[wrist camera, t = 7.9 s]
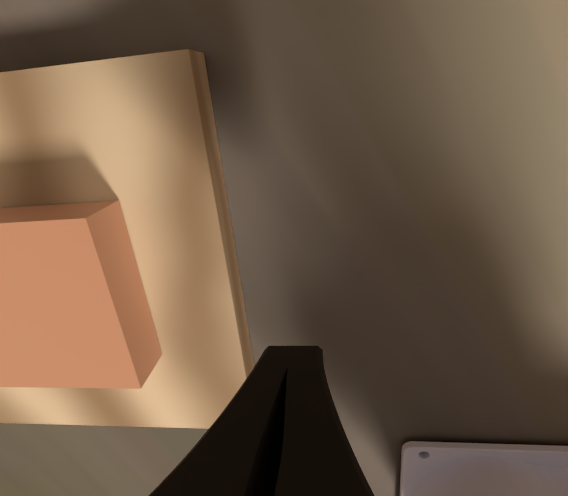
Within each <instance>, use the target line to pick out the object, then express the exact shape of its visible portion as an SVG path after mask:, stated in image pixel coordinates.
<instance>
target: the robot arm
mask: <svg viewBox="0 0 568 496" xmlns="http://www.w3.org/2000/svg"><path fill="white" fill-rule="evenodd" d="M149 496H374V494H373V492H372V490H371V488H370V486H369V484H368V482H367V480H366V478H365V476H364V474H363V472H362V470H361V468H360V466H359V464H358V461H357V459H356V457H355V455H354V453H353V450H352V448H351V446H350V443H349V441H348V439H347V436H346V434H345V432H344V429H343V427H342V424H341V422H340V419H339V416H338V413H337V411H336V408H335V405H334V402H333V399H332V396H331V393H330V390H329V387H328V383H327V379H326V375H325V371H324V365H323V350H322V349H321V348H320V347H319V346H268V347H267V348H266V349H265V351H264V352H263V354H262V355H261V357H260V359H259V360H258V362H257V363H256V365H255V367H254V368H253V370H252V371H251V373H250V374H249V376H248V377H247V379H246V380H245V381H244V383H243V384H242V386H241V387H240V389H239V390H238V391H237V393H236V394H235V395H234V397H233V398H232V400H231V401H230V402H229V404H228V405H227V406H226V408H225V409H224V410H223V412H222V413H221V414H220V416H219V417H218V418H217V419H216V421H215V422H214V423H213V424H212V426H211V427H210V428H209V429H208V430H207V432H206V433H205V434H204V435H203V437H202V438H201V439H200V440H199V442H198V443H197V444H196V445H195V446H194V448H193V449H192V450H191V451H190V452H189V453H188V454H187V455H186V457H185V458H184V459H183V460H182V461H181V462H180V463H179V464H178V466H177V467H176V468H175V469H174V470H173V471H172V472H171V473H170V474H169V475H168V476H167V477H166V478H165V479H164V480H163V482H162V483H161V484H160V485H159V486H158V487H157V488H156V489H155V490H154V491H153V492H152V493H151V494H150V495H149ZM400 496H568V446H555V445H521V444H488V443H455V442H422V441H409V442H406V443H405V444H404V445H403V446H402V453H401V476H400Z"/></svg>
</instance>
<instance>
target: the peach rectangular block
mask: <svg viewBox="0 0 568 496" xmlns="http://www.w3.org/2000/svg"><path fill="white" fill-rule="evenodd" d="M161 356H162V352H161V348H160V344H159V341H158V337H157V334H156V330H155V327H154V323H153V320H152V316H151V312H150V309H149V305H148V302H147V298H146V295H145V291H144V288H143V284H142V280H141V277H140V273H139V270H138V266H137V263H136V259H135V256H134V252H133V249H132V245H131V241H130V238H129V234H128V231H127V227H126V224H125V220H124V217H123V213H122V209H121V206H120V202H119V200H114V201H99V202H84V203H69V204H54V205H38V206H23V207H8V208H0V387H38V388H121V389H141V388H142V386H143V385H144V383H145V382H146V380H147V378H148V377H149V375H150V374H151V372H152V370H153V369H154V367H155V366H156V364H157V362H158V361H159V359H160V357H161Z"/></svg>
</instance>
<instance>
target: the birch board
mask: <svg viewBox="0 0 568 496" xmlns="http://www.w3.org/2000/svg"><path fill="white" fill-rule="evenodd" d="M114 200H119V202H120V206H121V209H122V213H123V217H124V220H125V224H126V227H127V231H128V234H129V238H130V241H131V245H132V249H133V252H134V256H135V259H136V263H137V266H138V270H139V273H140V277H141V280H142V284H143V288H144V291H145V295H146V298H147V302H148V305H149V309H150V312H151V316H152V320H153V323H154V327H155V330H156V334H157V337H158V341H159V344H160V348H161V352H162V356H161V357H160V359H159V361H158V362H157V364H156V366H155V367H154V369H153V370H152V372H151V374H150V375H149V377H148V378H147V380H146V382H145V383H144V385H143V386H142V388H141V389H121V388H38V387H0V423H28V424H65V425H101V426H137V427H174V428H210V427H211V426H212V424H213V423H214V422H215V421H216V419H217V418H218V417H219V416H220V414H221V413H222V412H223V410H224V409H225V408H226V406H227V405H228V404H229V402H230V401H231V400H232V398H233V397H234V395H235V394H236V393H237V391H238V390H239V389H240V387H241V386H242V384H243V383H244V381H245V380H246V379H247V377H248V376H249V374H250V373H251V371H252V370H253V368H254V361H253V354H252V348H251V342H250V336H249V330H248V323H247V317H246V311H245V305H244V299H243V292H242V286H241V280H240V274H239V268H238V261H237V255H236V249H235V243H234V237H233V230H232V224H231V218H230V212H229V206H228V199H227V193H226V187H225V181H224V175H223V168H222V162H221V156H220V150H219V144H218V137H217V131H216V125H215V119H214V113H213V106H212V100H211V94H210V88H209V82H208V75H207V69H206V63H205V57H204V53H202V52H198V51H195V50H191V49H184V50H176V51H168V52H160V53H152V54H144V55H136V56H128V57H120V58H112V59H104V60H96V61H88V62H80V63H72V64H64V65H56V66H48V67H40V68H32V69H24V70H16V71H8V72H0V208H8V207H23V206H38V205H54V204H69V203H84V202H99V201H114Z"/></svg>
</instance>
